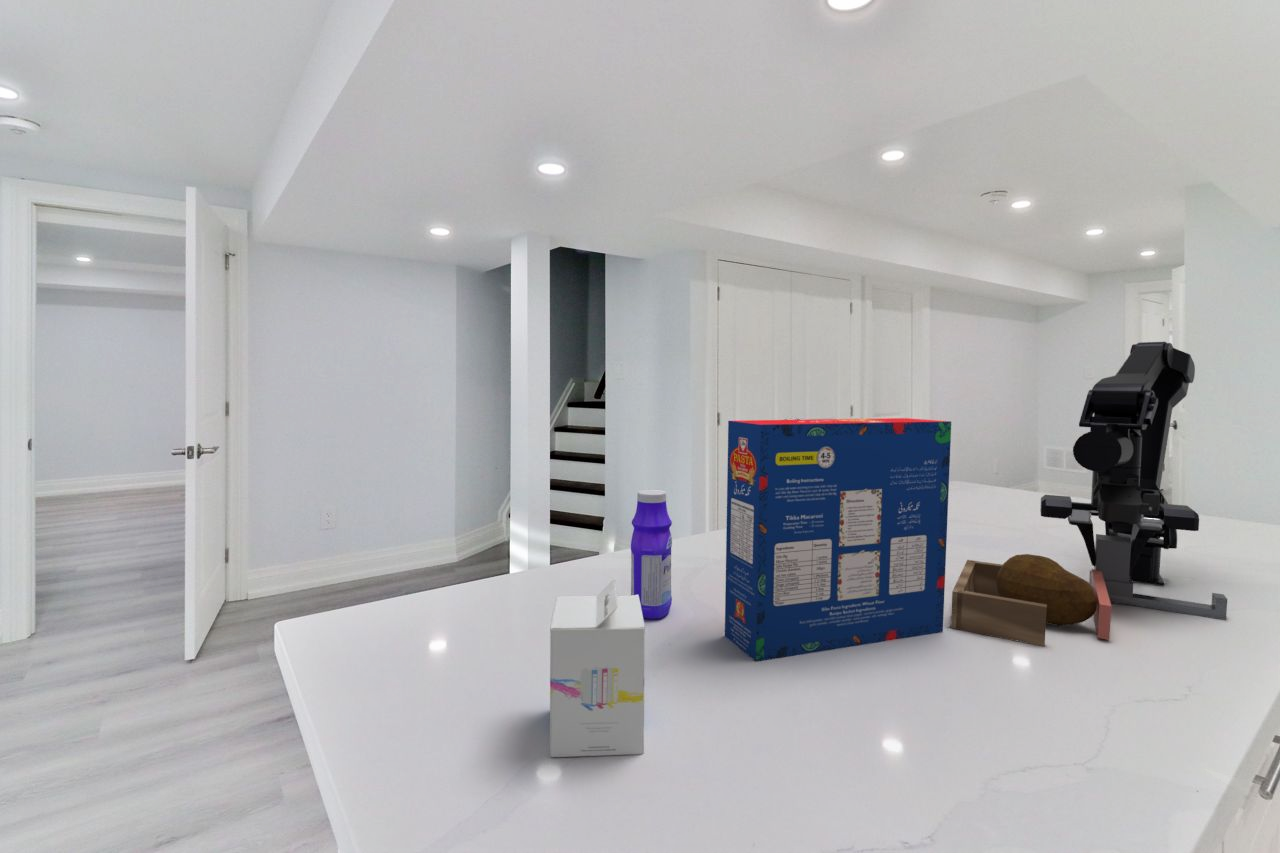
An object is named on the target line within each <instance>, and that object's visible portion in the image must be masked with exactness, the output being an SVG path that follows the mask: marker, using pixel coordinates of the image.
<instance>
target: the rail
mask: <svg viewBox="0 0 1280 853" xmlns="http://www.w3.org/2000/svg"><path fill="white" fill-rule="evenodd" d="M1108 596H1109V599H1110V603H1114V602H1117V603H1116V604H1121V603H1123V605H1127V604H1129V606H1133V605H1136V607H1140V606H1142V607H1141V608H1146V609H1154V610H1158V611H1159V610H1160V611H1167V612H1171V613H1172V612H1173V613H1179V614H1185V615H1190V616H1191V615H1193V616H1198V617H1203V618H1211V619H1218V620H1224V621H1226V620H1227V611H1228V610H1227V609H1228V598H1227V597H1226V595H1225V594H1223V593H1216V592H1212V593H1211V603H1210V604H1207V603H1200V602H1193V601H1187V600H1180V599H1173V598H1167V597H1160V596H1153V595H1146V594H1141V593H1134V592H1133V598H1131V597H1124V596H1118V595H1111V594H1108Z"/></svg>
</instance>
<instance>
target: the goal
mask: <svg viewBox="0 0 1280 853" xmlns="http://www.w3.org/2000/svg"><path fill="white" fill-rule="evenodd" d="M1002 565H1003V564H1000V563H993V562H986V561H979V560H973V559H972V560H971V559H967V560H966V562H965V564H964V565H963V566H964V567H963V568H962V570H961V573H960V574H959V576H958V578H957V581H956V583H955V585H954V587H953V589H952V592H951V593H952V594H951V598H952V599H951V612H950V613H951V614H950V616H951V617H950V629H955V630H960V631H966V632H970V633H975V634H980V635H985V636H990V635H991V637H995V636H996V637H995V638H1000V637H1001V639H1005V638H1006V640H1010V639H1012V640H1011V641H1015V640H1018V641H1017V642H1020V641H1022V642H1021V643H1025V642H1027V643H1026V644H1030V643H1032V645H1035V644H1037V645H1036V646H1040V645H1042V646H1041V647H1045V646H1046V644H1045V643H1046V630H1047V623H1046V611H1047V604H1041V603H1035V602H1029V601H1023V600H1017V599H1011V598H1005V597H1000V595H999V593H998V590H997V584H996V582H997V575H998V572H999V570H1000V569H1001V567H1002Z"/></svg>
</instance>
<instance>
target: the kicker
mask: <svg viewBox="0 0 1280 853" xmlns="http://www.w3.org/2000/svg"><path fill="white" fill-rule="evenodd" d="M1094 544H1095V553H1096V563H1095V566H1093V568H1091V570H1089V576H1088V577H1089V578H1088V579H1089V580H1088V583H1089V584H1090V585H1091V586H1092V587H1093V589H1094V592H1095V594H1096V596H1097V607H1096V612H1095V613H1094V614H1093V619H1094V625H1095V630H1096V636H1097V638H1098V639H1103V640H1108V641H1110V637H1111V621H1112V620H1111V619H1112V618H1111V617H1112V602H1110V599H1109V596H1108V594H1111V595H1118V596H1124V597H1131V598H1133V593H1134V583H1133V582H1134V581H1132V580H1131V578H1130V576H1129V570H1130V554H1131V542H1130V540H1129V538H1127V537H1118V536H1109V535H1106V534H1098V533H1096V534H1095V542H1094Z"/></svg>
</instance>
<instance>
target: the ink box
mask: <svg viewBox="0 0 1280 853" xmlns="http://www.w3.org/2000/svg"><path fill="white" fill-rule="evenodd" d="M616 581H617V580H616V579H613V580H612V581H610V582H609V583H608V584H607V585H606V586H605V587H604V588H603V589H602V590H601V591H600V592H599V593H598V594H597V595H586V596H585V595H581V596H580V595H579V596H572V595H571V596H568V595H567V596H562V595H561V596H560V595H558V596H556V597H555V600H554V606H553V611H552V616H551V621H550V627H549V632H550V634H549V635H550V637H549V639H550V641H549V642H550V651H549V653H550V654H549V655H550V656H549V657H550V658H549V659H550V662H549V663H550V664H549V684H550V685H549V687H550V689H549V690H550V691H549V756H550V758H566V757H567V758H569V757H600V756H625V755H628V756H629V755H642V754H644V752H645V736H644V735H645V649H646V648H645V642H646V640H645V637H646V636H645V634H646V633H645V632H646V626H645V620H644V619H645V618H643V614H642V609H641V604H640V599H639V595H631V594H630V595H617V590H616V589H617V588H616V586H617V585H616V584H617V582H616Z"/></svg>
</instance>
